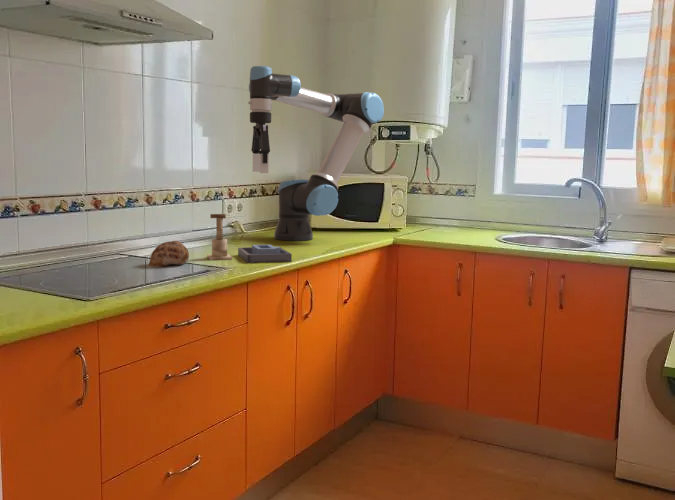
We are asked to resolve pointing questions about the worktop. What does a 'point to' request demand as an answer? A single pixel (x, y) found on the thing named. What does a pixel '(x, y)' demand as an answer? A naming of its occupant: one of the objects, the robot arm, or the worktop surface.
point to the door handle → (219, 240)
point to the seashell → (169, 254)
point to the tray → (264, 256)
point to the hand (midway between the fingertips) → (260, 172)
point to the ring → (265, 249)
